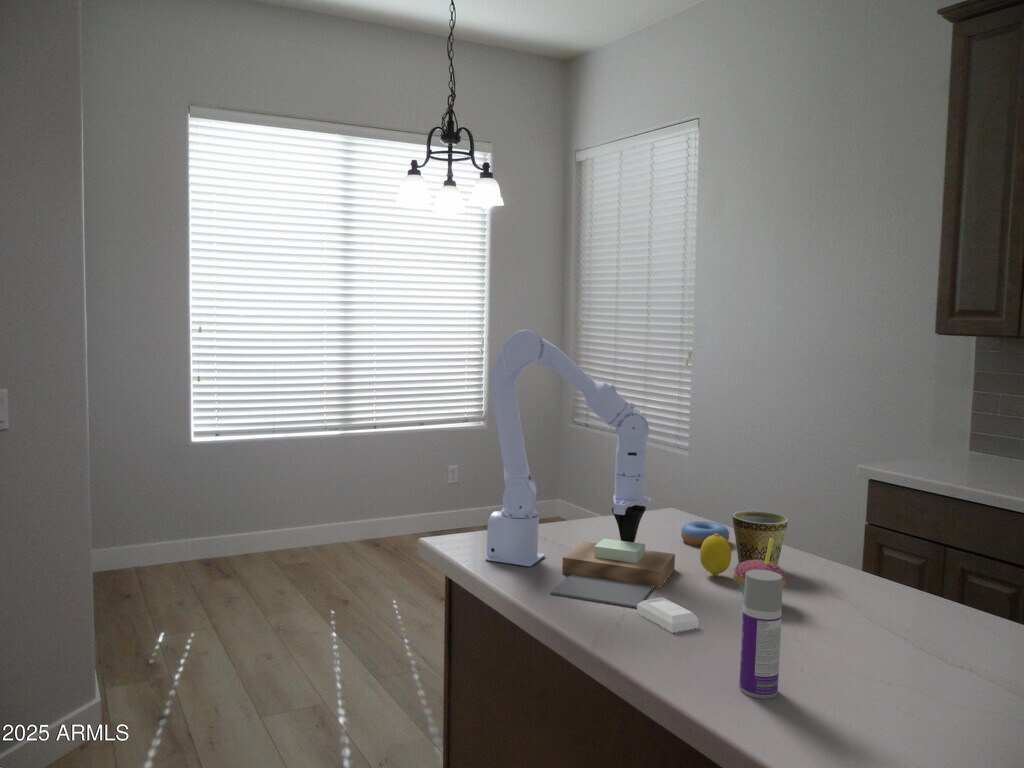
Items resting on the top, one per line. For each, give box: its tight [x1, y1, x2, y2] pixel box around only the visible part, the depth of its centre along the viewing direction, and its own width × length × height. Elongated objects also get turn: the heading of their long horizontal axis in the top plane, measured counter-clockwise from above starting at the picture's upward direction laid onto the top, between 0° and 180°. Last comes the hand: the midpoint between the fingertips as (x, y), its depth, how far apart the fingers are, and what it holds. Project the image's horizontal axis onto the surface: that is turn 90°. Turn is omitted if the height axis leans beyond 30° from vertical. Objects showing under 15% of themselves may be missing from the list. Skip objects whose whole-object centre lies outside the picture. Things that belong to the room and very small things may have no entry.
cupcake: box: [732, 535, 788, 599], centre depth 137 cm, size 9×8×12 cm
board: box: [561, 541, 676, 588], centre depth 152 cm, size 18×12×3 cm, turn 67°
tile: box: [594, 538, 646, 563], centre depth 152 cm, size 8×6×2 cm
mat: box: [549, 574, 654, 609], centre depth 141 cm, size 15×11×1 cm
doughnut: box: [680, 520, 730, 548], centre depth 174 cm, size 10×10×5 cm
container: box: [739, 570, 783, 700], centre depth 104 cm, size 5×5×15 cm
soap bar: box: [636, 596, 699, 634], centre depth 128 cm, size 5×9×3 cm, turn 27°
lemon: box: [699, 533, 732, 577], centre depth 150 cm, size 6×6×8 cm
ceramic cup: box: [732, 510, 789, 566], centre depth 157 cm, size 13×10×10 cm
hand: (627, 544), depth 157 cm, fingers closed
